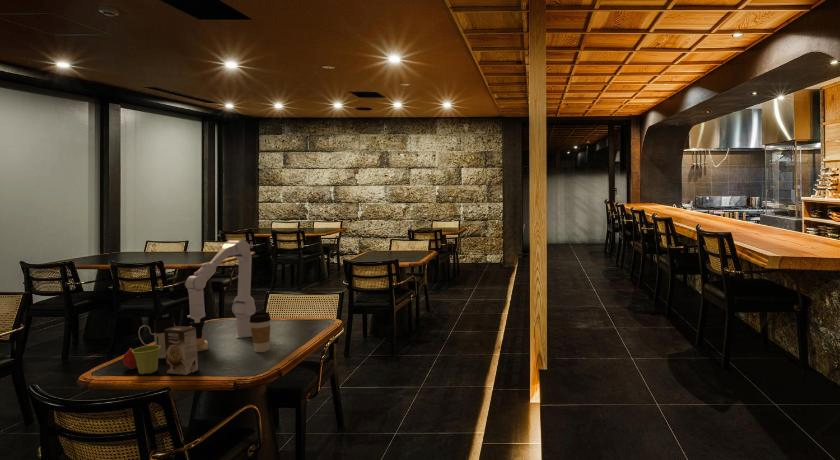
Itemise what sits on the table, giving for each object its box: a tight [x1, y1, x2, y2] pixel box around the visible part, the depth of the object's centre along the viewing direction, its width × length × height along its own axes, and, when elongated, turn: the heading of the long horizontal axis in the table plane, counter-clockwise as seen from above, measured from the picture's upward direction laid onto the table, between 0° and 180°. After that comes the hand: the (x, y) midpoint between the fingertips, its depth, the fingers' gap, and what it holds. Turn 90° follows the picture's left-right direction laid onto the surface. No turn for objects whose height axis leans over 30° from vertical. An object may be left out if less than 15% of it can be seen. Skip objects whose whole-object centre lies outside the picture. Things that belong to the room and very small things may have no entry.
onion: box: [122, 347, 137, 370], centre depth 201 cm, size 6×6×8 cm
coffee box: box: [164, 325, 199, 376], centre depth 195 cm, size 9×6×16 cm
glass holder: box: [137, 316, 176, 359], centre depth 216 cm, size 9×14×15 cm, turn 135°
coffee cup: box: [249, 311, 272, 353], centre depth 219 cm, size 8×8×15 cm
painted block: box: [196, 329, 205, 344], centre depth 225 cm, size 4×4×5 cm
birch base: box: [197, 339, 209, 352], centre depth 225 cm, size 6×6×3 cm
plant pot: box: [132, 344, 161, 375], centre depth 196 cm, size 9×9×9 cm
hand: (199, 336), depth 225 cm, fingers open, 7 cm apart
